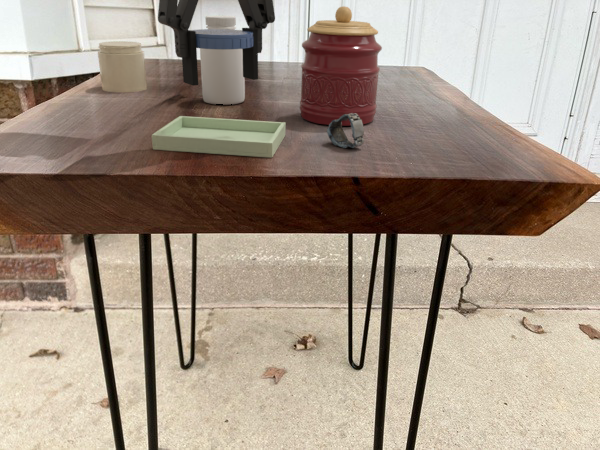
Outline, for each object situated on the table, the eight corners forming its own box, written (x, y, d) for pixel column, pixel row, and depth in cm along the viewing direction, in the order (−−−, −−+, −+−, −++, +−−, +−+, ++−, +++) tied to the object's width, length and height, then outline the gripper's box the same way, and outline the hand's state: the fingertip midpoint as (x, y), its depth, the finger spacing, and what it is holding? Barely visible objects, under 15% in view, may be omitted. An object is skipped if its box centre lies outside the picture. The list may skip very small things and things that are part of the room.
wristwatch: (352, 153, 76) (336, 124, 77) (372, 137, 72) (354, 105, 72) (337, 159, 74) (320, 129, 75) (355, 142, 70) (338, 110, 71)
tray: (152, 149, 70) (151, 134, 69) (180, 128, 80) (179, 115, 80) (272, 157, 69) (272, 143, 68) (285, 135, 79) (285, 122, 78)
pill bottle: (194, 100, 100) (189, 14, 93) (228, 95, 105) (226, 14, 98) (218, 107, 94) (215, 18, 88) (253, 102, 99) (253, 17, 93)
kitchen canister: (384, 127, 85) (396, 9, 78) (305, 127, 83) (309, 7, 76) (364, 109, 97) (373, 5, 89) (294, 109, 95) (297, 3, 88)
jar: (95, 102, 96) (88, 44, 91) (115, 93, 103) (109, 40, 99) (137, 104, 95) (132, 46, 91) (154, 96, 102) (150, 42, 98)
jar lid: (259, 43, 72) (259, 30, 72) (244, 50, 65) (244, 36, 64) (199, 41, 73) (198, 28, 73) (177, 47, 66) (176, 33, 65)
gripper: (139, -136, 53) (159, 92, 62) (306, -110, 65) (301, 78, 74) (113, -127, 58) (134, 83, 68) (271, -104, 70) (270, 71, 80)
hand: (221, 80), depth 71 cm, fingers closed on jar lid, 8 cm apart
